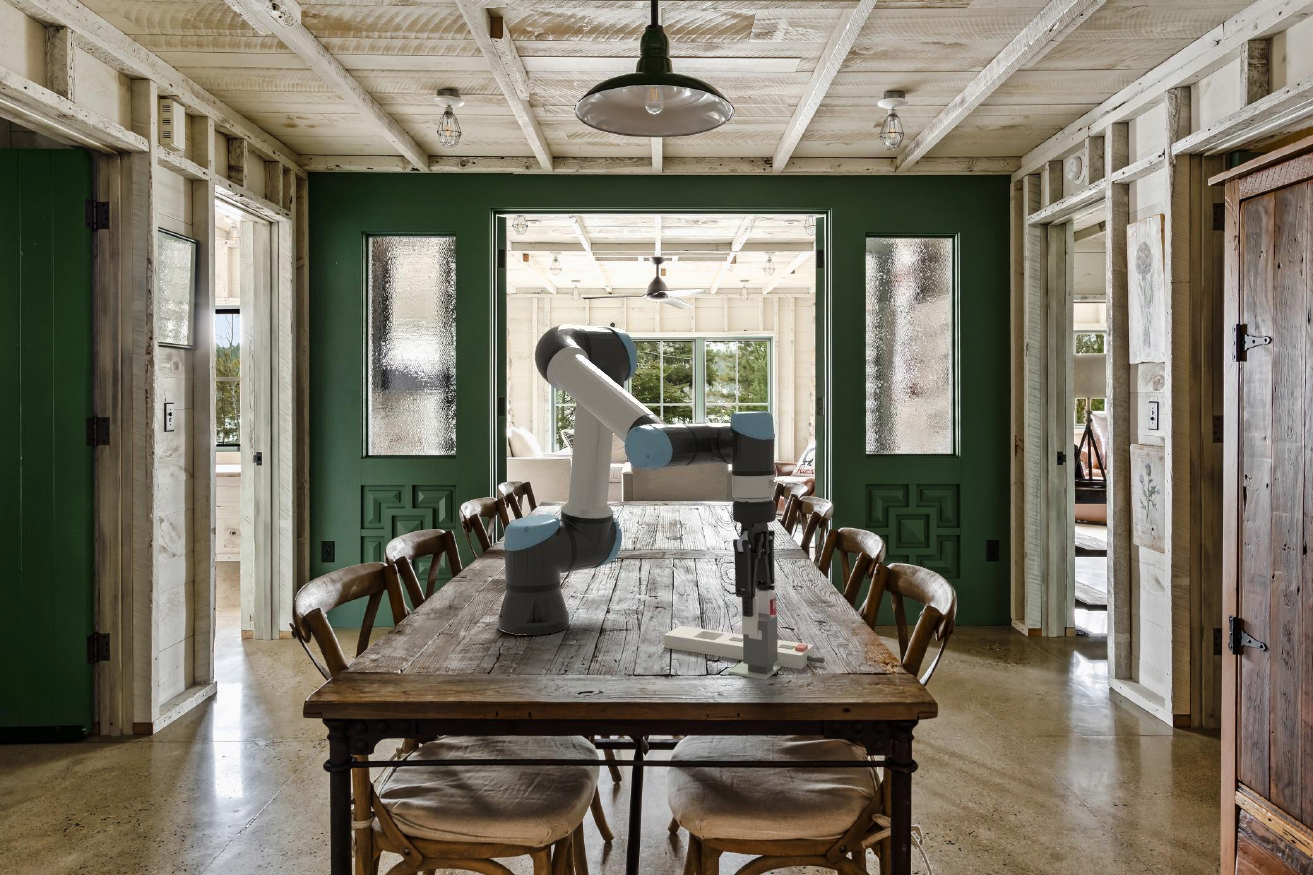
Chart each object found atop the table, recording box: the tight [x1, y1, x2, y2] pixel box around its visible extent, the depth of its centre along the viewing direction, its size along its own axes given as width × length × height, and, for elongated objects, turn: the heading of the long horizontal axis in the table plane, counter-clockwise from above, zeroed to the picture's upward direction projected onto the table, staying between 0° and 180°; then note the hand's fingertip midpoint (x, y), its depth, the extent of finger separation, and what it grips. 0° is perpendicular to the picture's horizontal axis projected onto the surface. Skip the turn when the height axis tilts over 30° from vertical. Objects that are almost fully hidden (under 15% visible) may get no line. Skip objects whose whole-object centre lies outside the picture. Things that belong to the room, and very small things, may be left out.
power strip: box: [663, 625, 825, 670], centre depth 155 cm, size 31×7×3 cm, turn 60°
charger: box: [742, 613, 779, 674], centre depth 144 cm, size 5×5×10 cm
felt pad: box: [728, 661, 782, 681], centre depth 146 cm, size 7×7×1 cm
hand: (756, 630), depth 145 cm, fingers open, 5 cm apart
